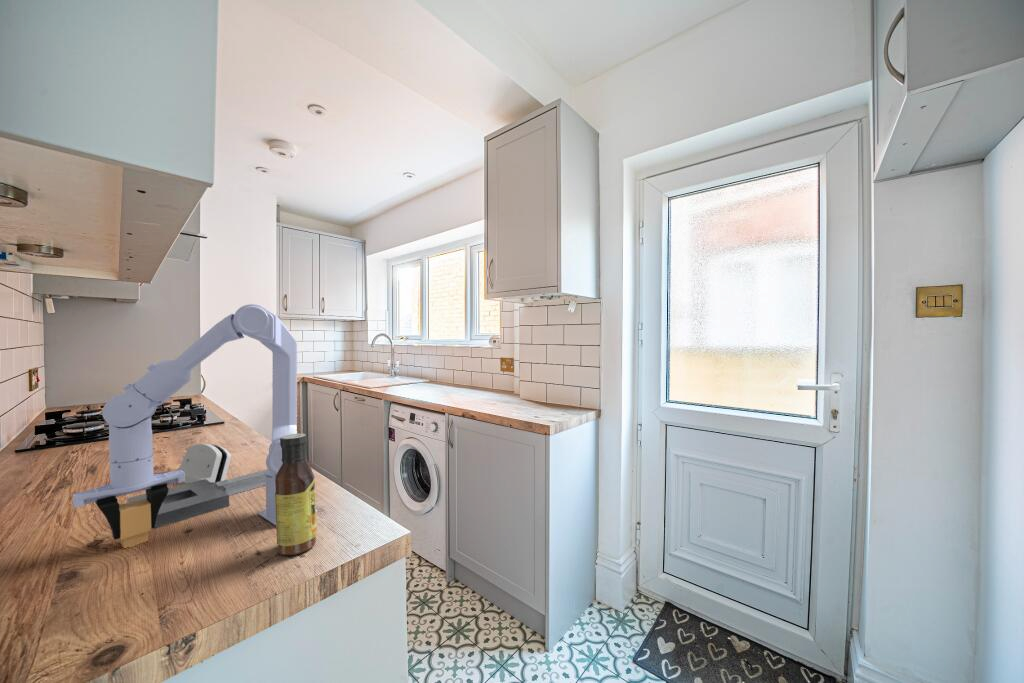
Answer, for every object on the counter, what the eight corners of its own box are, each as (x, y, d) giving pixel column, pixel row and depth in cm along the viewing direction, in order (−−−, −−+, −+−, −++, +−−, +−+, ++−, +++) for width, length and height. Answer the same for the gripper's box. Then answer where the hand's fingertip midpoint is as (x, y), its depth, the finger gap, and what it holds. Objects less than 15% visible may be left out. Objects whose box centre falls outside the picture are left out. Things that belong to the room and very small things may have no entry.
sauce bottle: (321, 547, 70) (319, 436, 69) (282, 562, 66) (279, 443, 65) (310, 534, 75) (307, 429, 74) (272, 546, 70) (269, 435, 70)
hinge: (170, 477, 105) (184, 439, 108) (190, 478, 109) (203, 441, 112) (202, 488, 97) (217, 447, 100) (223, 488, 101) (236, 449, 104)
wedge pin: (151, 541, 73) (150, 503, 73) (121, 550, 70) (120, 511, 69) (146, 534, 75) (145, 498, 75) (117, 543, 72) (115, 505, 72)
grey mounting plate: (286, 488, 97) (286, 476, 97) (137, 533, 76) (136, 518, 76) (260, 474, 107) (259, 463, 107) (120, 511, 85) (120, 497, 85)
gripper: (176, 445, 80) (178, 511, 81) (69, 464, 69) (72, 542, 69) (187, 451, 76) (189, 521, 76) (74, 473, 64) (77, 555, 65)
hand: (134, 532), depth 72 cm, fingers closed on wedge pin, 4 cm apart
